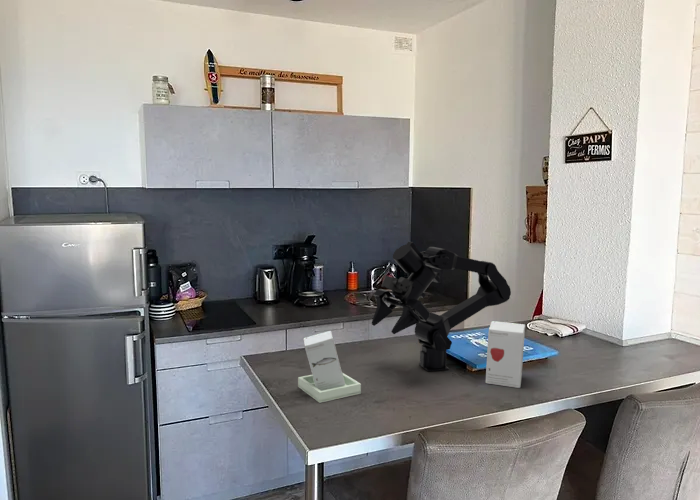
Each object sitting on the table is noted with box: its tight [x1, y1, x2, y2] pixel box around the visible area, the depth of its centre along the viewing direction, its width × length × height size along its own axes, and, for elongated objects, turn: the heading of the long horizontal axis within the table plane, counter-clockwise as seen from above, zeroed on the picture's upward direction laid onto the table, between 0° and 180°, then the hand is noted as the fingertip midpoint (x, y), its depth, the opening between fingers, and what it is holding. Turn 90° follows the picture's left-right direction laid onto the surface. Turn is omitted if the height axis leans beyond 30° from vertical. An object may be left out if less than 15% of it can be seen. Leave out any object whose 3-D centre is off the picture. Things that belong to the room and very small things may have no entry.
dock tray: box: [297, 372, 362, 403], centre depth 135 cm, size 12×12×2 cm
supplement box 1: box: [303, 330, 345, 391], centre depth 134 cm, size 7×7×13 cm
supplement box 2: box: [485, 320, 526, 389], centre depth 143 cm, size 9×9×15 cm
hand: (382, 328), depth 143 cm, fingers open, 9 cm apart
